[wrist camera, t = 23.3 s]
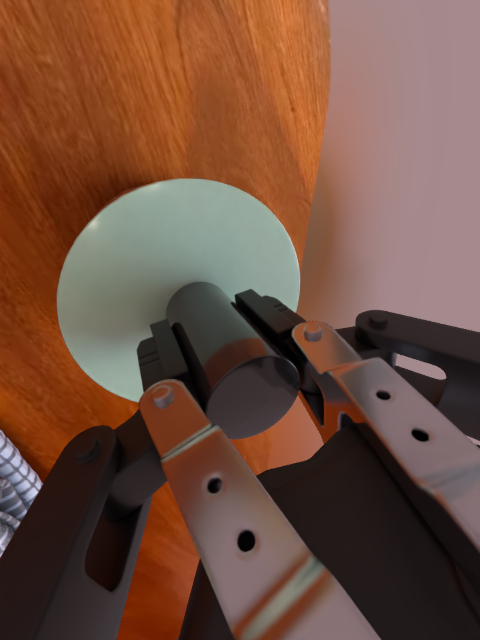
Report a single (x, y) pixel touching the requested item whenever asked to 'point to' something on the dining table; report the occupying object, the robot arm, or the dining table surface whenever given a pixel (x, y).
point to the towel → (14, 489)
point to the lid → (184, 296)
